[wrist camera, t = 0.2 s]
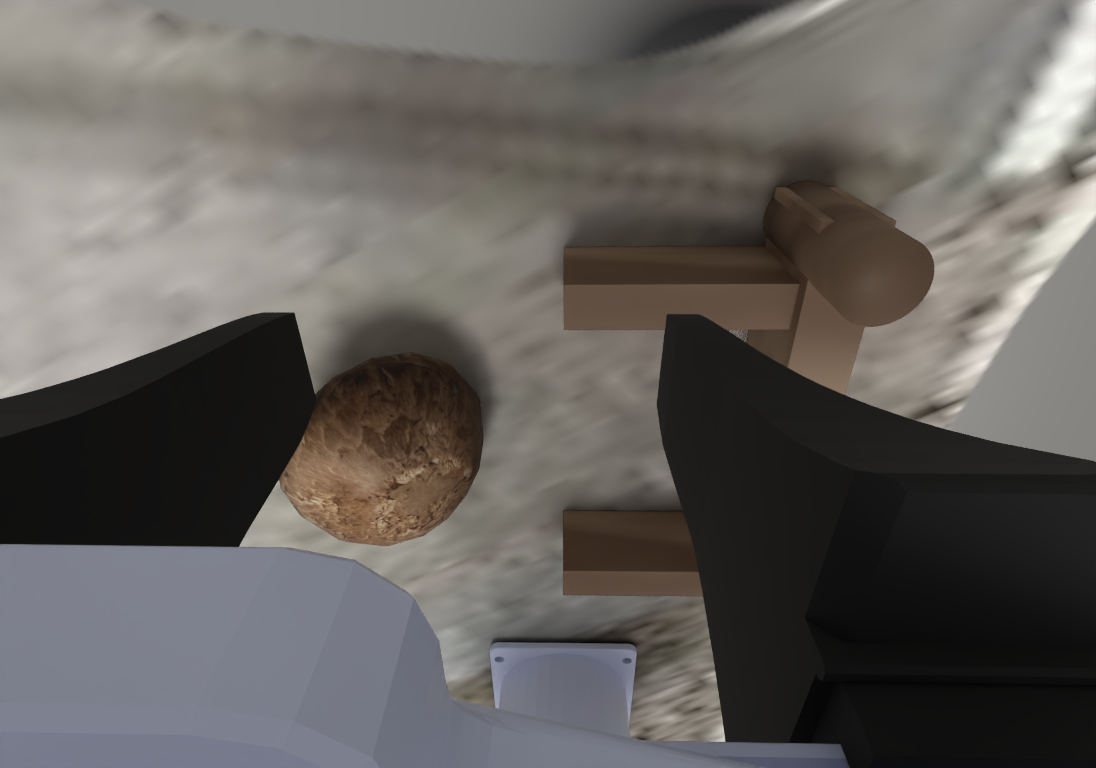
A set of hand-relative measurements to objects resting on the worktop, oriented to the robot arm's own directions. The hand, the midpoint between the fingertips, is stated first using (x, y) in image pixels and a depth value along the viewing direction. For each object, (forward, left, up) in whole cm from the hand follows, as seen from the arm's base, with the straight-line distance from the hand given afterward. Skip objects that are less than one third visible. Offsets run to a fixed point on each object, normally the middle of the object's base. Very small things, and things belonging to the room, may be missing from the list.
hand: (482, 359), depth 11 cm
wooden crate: (-8, -6, -10) cm, 14 cm away
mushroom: (-8, +5, -10) cm, 14 cm away
